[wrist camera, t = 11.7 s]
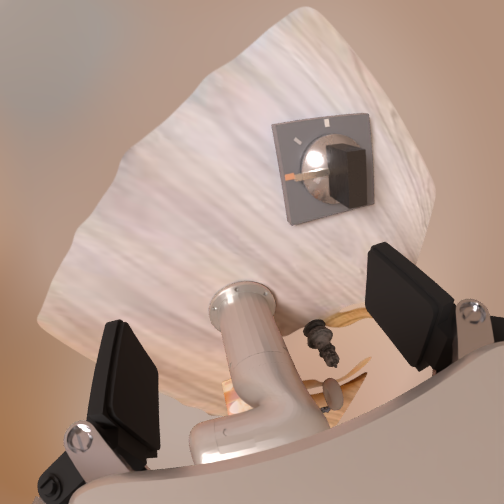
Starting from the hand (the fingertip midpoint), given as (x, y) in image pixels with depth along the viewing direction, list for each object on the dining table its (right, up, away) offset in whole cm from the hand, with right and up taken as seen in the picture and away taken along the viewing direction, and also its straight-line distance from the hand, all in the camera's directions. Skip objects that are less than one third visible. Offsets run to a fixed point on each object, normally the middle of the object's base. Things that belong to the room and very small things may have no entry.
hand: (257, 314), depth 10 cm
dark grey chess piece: (+14, -15, +50) cm, 54 cm away
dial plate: (+12, +16, +33) cm, 39 cm away
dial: (+12, +15, +31) cm, 37 cm away
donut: (+21, -35, +63) cm, 75 cm away
